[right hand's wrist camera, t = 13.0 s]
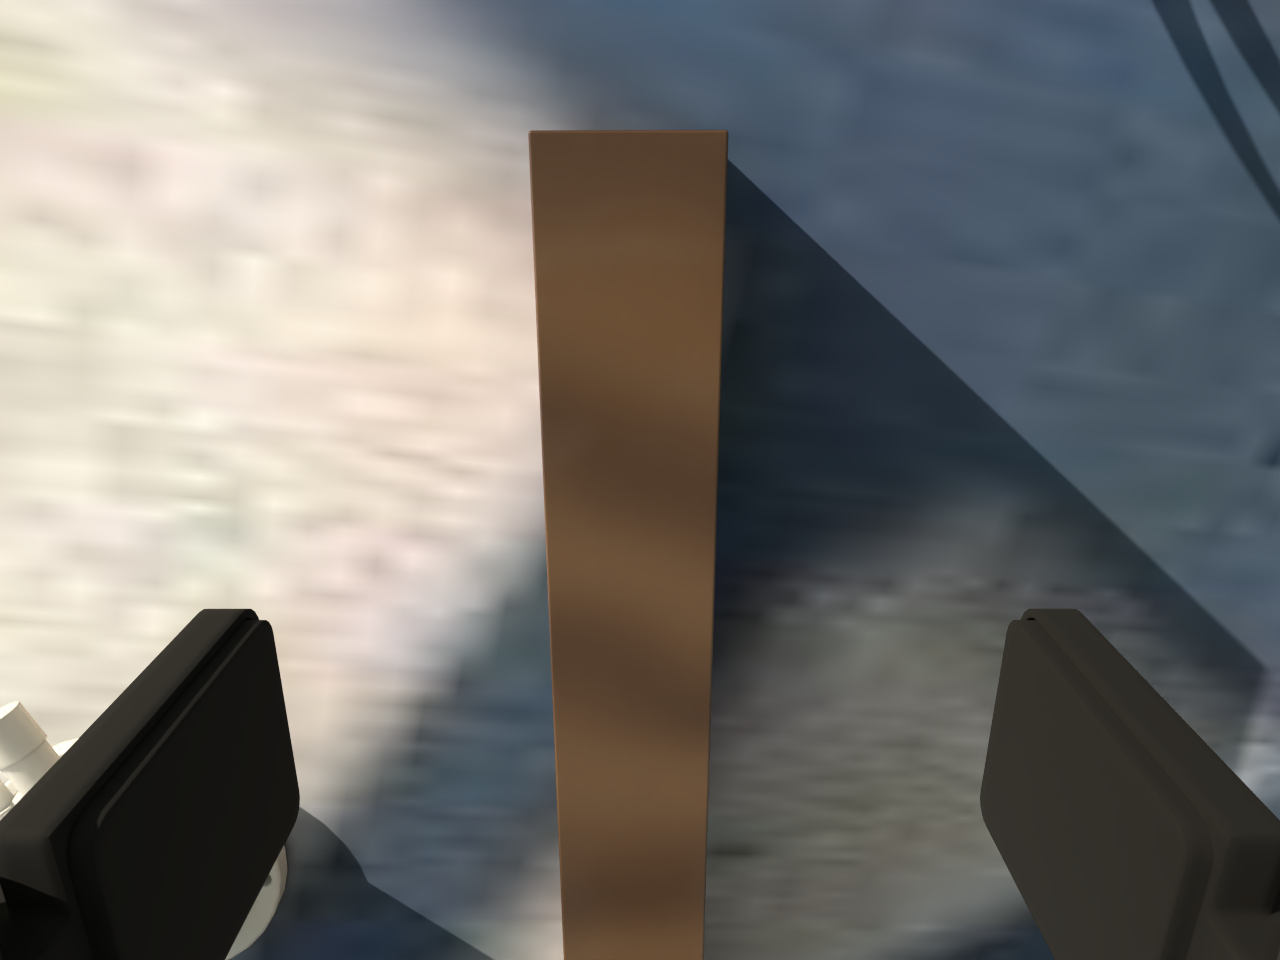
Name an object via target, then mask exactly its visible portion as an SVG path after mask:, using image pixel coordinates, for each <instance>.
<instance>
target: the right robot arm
mask: <svg viewBox="0 0 1280 960" xmlns="http://www.w3.org/2000/svg"><path fill="white" fill-rule="evenodd" d="M46 737H47V735H46V734H45V732H44V731H43V730H42V729H41V727H40V726H39V725H38V724H37V722H36V721H35V720H34V719H33V718H32V716H31V715H30V714H29V713H28V711H27V710H26V709H25V708H24V706H23V705H22V704H21V703H20V701H14V702H12V703H9V704H7V705H5V706H3V707H1V708H0V770H1V771H2V772H3V774H4V775H5V776H6V777H7V778H8V780H9V781H8V782H7V783H6V784H4V783H3V782H2V781H1V780H0V960H229V959H232V958H233V957H235V956H236V955H238V954H239V953H241V952H242V951H244V950H245V949H247V948H248V947H250V946H251V945H252V944H253V943H254V942H255V940H256V939H257V938H258V937H259V936H260V935H261V934H262V933H263V932H264V931H265V929H266V928H267V926H268V924H269V922H270V921H271V919H272V917H273V915H274V914H275V911H276V909H277V907H278V905H279V902H280V900H281V897H282V895H283V893H284V890H285V884H286V877H287V870H288V869H287V860H286V850H285V846H284V844H285V842H286V840H287V838H288V836H289V834H290V832H291V830H292V828H293V826H294V824H295V822H296V819H297V815H298V810H299V800H300V796H299V787H298V781H297V775H296V769H295V763H294V757H293V751H292V745H291V739H290V733H289V726H288V720H287V714H286V708H285V702H284V696H283V690H282V684H281V678H280V672H279V666H278V659H277V653H276V647H275V641H274V635H273V630H272V627H271V625H270V623H269V622H268V621H267V620H259V618H258V616H257V615H256V613H255V612H254V611H253V610H252V609H204V610H202V611H201V612H199V613H198V614H197V615H196V616H195V617H194V618H193V619H192V620H191V621H190V623H189V624H188V625H187V626H186V627H185V628H184V629H183V630H182V631H181V632H180V633H179V634H178V635H177V636H176V637H175V638H174V639H173V640H172V641H171V642H170V643H169V645H168V646H167V647H166V648H165V649H164V650H163V651H162V652H161V653H160V654H159V655H158V656H157V657H156V658H155V659H154V660H153V661H152V662H151V663H150V664H149V665H148V667H147V668H146V669H145V670H144V671H143V672H142V673H141V674H140V675H139V676H138V677H137V678H136V679H135V680H134V681H133V682H132V683H131V684H130V685H129V686H128V687H127V688H126V690H125V691H124V692H123V693H122V694H121V695H120V696H119V697H118V698H117V699H116V700H115V701H114V702H113V703H112V704H111V705H110V706H109V707H108V708H107V709H106V710H105V712H104V713H103V714H102V715H101V716H100V717H99V718H98V719H97V720H96V721H95V722H94V723H93V724H92V725H91V726H90V727H89V728H88V729H87V730H86V731H85V732H84V733H83V735H82V736H81V737H80V738H77V739H73V740H69V741H65V742H62V743H59V744H57V745H55V746H53V747H51V745H50V744H49V743H48V742H47V740H46ZM980 800H981V810H982V815H983V819H984V822H985V824H986V826H987V828H988V830H989V832H990V834H991V836H992V838H993V840H994V842H995V844H996V846H997V848H998V850H999V852H1000V854H1001V856H1002V858H1003V860H1004V861H1005V863H1006V865H1007V867H1008V869H1009V871H1010V873H1011V875H1012V877H1013V879H1014V881H1015V883H1016V885H1017V887H1018V889H1019V891H1020V893H1021V895H1022V897H1023V899H1024V900H1025V902H1026V904H1027V906H1028V908H1029V910H1030V912H1031V914H1032V916H1033V918H1034V920H1035V922H1036V924H1037V926H1038V928H1039V930H1040V932H1041V934H1042V936H1043V937H1044V939H1045V941H1046V943H1047V945H1048V947H1049V949H1050V951H1051V953H1052V955H1053V957H1054V959H1055V960H1280V820H1279V819H1278V818H1277V817H1276V816H1275V815H1274V814H1273V813H1272V812H1271V811H1270V810H1269V809H1268V808H1267V807H1266V806H1265V805H1264V804H1263V803H1262V802H1261V800H1260V799H1259V798H1258V797H1257V796H1256V795H1255V794H1254V793H1253V792H1252V791H1251V790H1250V789H1249V788H1248V787H1247V786H1246V785H1245V784H1244V783H1243V782H1242V781H1241V780H1240V778H1239V777H1238V776H1237V775H1236V774H1235V773H1234V772H1233V771H1232V770H1231V769H1230V768H1229V767H1228V766H1227V765H1226V764H1225V763H1224V762H1223V761H1222V760H1221V759H1220V758H1219V757H1218V755H1217V754H1216V753H1215V752H1214V751H1213V750H1212V749H1211V748H1210V747H1209V746H1208V745H1207V744H1206V743H1205V742H1204V741H1203V740H1202V739H1201V738H1200V737H1199V736H1198V735H1197V733H1196V732H1195V731H1194V730H1193V729H1192V728H1191V727H1190V726H1189V725H1188V724H1187V723H1186V722H1185V721H1184V720H1183V719H1182V718H1181V717H1180V716H1179V715H1178V714H1177V713H1176V712H1175V710H1174V709H1173V708H1172V707H1171V706H1170V705H1169V704H1168V703H1167V702H1166V701H1165V700H1164V699H1163V698H1162V697H1161V696H1160V695H1159V694H1158V693H1157V692H1156V691H1155V690H1154V688H1153V687H1152V686H1151V685H1150V684H1149V683H1148V682H1147V681H1146V680H1145V679H1144V678H1143V677H1142V676H1141V675H1140V674H1139V673H1138V672H1137V671H1136V670H1135V669H1134V668H1133V667H1132V665H1131V664H1130V663H1129V662H1128V661H1127V660H1126V659H1125V658H1124V657H1123V656H1122V655H1121V654H1120V653H1119V652H1118V651H1117V650H1116V649H1115V648H1114V647H1113V646H1112V645H1111V643H1110V642H1109V641H1108V640H1107V639H1106V638H1105V637H1104V636H1103V635H1102V634H1101V633H1100V632H1099V631H1098V630H1097V629H1096V628H1095V627H1094V626H1093V625H1092V624H1091V623H1090V621H1089V620H1088V619H1087V618H1086V617H1085V616H1084V615H1083V614H1082V613H1081V612H1079V611H1078V610H1076V609H1028V610H1027V611H1026V612H1025V613H1024V615H1023V616H1022V618H1021V620H1013V621H1012V622H1011V623H1010V625H1009V627H1008V630H1007V635H1006V641H1005V647H1004V653H1003V659H1002V666H1001V672H1000V678H999V684H998V690H997V696H996V702H995V708H994V714H993V720H992V726H991V733H990V739H989V745H988V751H987V757H986V763H985V769H984V775H983V781H982V787H981V796H980Z"/></svg>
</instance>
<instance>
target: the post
mask: <svg viewBox="0 0 1280 960" xmlns="http://www.w3.org/2000/svg"><path fill="white" fill-rule="evenodd" d="M528 135H529V158H530V181H531V204H532V228H533V251H534V274H535V297H536V321H537V344H538V367H539V391H540V414H541V437H542V460H543V484H544V507H545V530H546V553H547V577H548V600H549V623H550V646H551V670H552V693H553V716H554V739H555V763H556V786H557V809H558V832H559V856H560V879H561V902H562V925H563V949H564V960H703V955H704V922H705V889H706V856H707V822H708V789H709V756H710V723H711V690H712V657H713V624H714V591H715V558H716V524H717V491H718V458H719V425H720V392H721V359H722V326H723V293H724V260H725V226H726V193H727V160H728V131H726V130H607V131H529V134H528Z"/></svg>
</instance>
